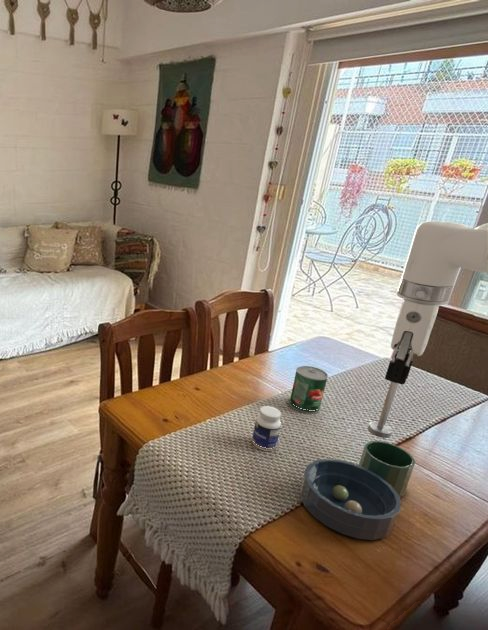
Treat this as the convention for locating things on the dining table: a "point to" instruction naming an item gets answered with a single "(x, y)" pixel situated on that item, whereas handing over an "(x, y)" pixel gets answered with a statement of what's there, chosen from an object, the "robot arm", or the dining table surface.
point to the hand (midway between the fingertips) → (396, 378)
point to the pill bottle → (267, 428)
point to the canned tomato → (308, 389)
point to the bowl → (362, 488)
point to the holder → (388, 463)
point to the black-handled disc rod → (384, 415)
